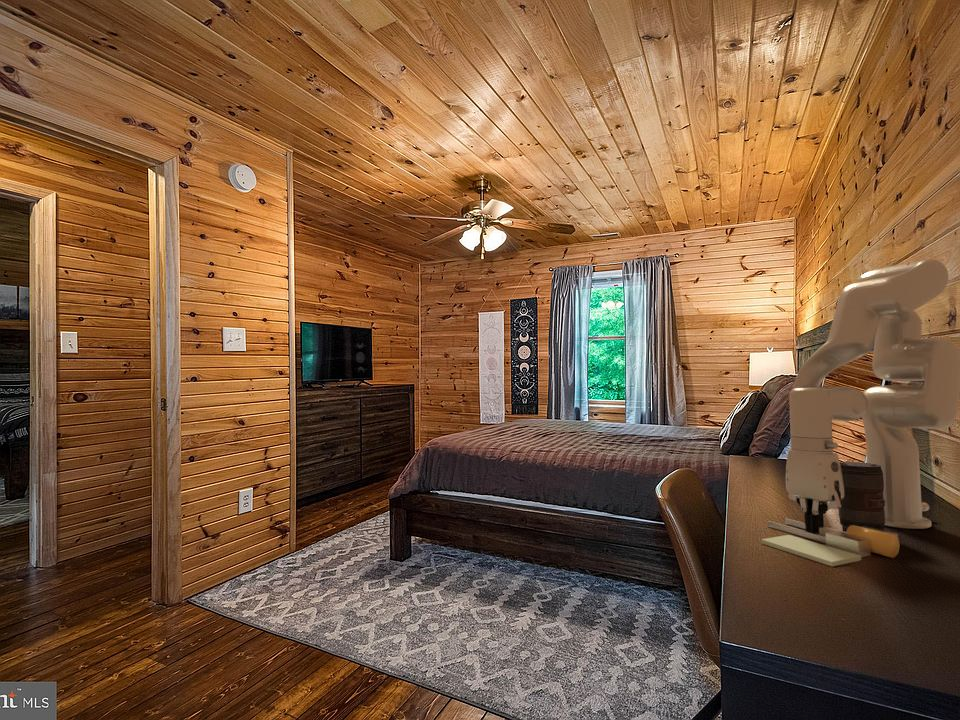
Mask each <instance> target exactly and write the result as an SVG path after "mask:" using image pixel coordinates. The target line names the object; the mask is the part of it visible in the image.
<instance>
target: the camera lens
mask: <svg viewBox="0 0 960 720" xmlns="http://www.w3.org/2000/svg"><path fill="white" fill-rule="evenodd" d="M840 465H841V469H842V475H843V483H844V499H843V500H840V504H841V508H838V517H839V523H840V525H841V528H842V529H841V530H842V531H843V532H846V531H847V529H848V527H849V526H851V525H856V526H868V527H872V528H876V529H880V530H884V531H885V525H884V524H885V511H884V506H885V500H884V499H883V491H884V478H883V472H882V469H881V465H878V464H872V463H867V462H859V461H857V462H856V461H855V462H854V461H840Z"/></svg>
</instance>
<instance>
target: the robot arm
mask: <svg viewBox="0 0 960 720" xmlns="http://www.w3.org/2000/svg"><path fill="white" fill-rule="evenodd" d="M949 277H950V276H949V272H948V268H947V267H946V266H945V265H944V263H943V262H941V261H940V260H936V259H933V258H929V259H928V258H927V259H921V260H916V261H910V262H905V263H901V264H895V265H890V266H889V265H888V266H885V267H880V268H876V269H872V270H869V271H867V272H865V273H862V274H861V276H859V278H858V279H857V282H854V283H851V284H848V285H847V286H846V287H844V288H843V289H842V290H841V292H840V293H839V297H838V301H837V304H836V306H835V311H834V315H833V318H832V323H831V326H830V329H829V333H828V338H827V340H826V342H824V344H822V345H821V346H820V347H819V348H818V349H817V350H815V351H814V352H813V353H812V354H811V355H810V356H809V358H807V360H806V361H805V362H804V363H803V364H802V365H801V367H800V368H799V369H798V372H797V374H796V377H795V379H794V384H793V388H792V389H791V390H790V391H789V393H788V395H789V396H788V399H789V425H790V426H789V427H790V428H789V429H790V430H789V431H790V432H789V433H790V449H788V452H787V457H786V465H785V489H786V491H787V494H788V495H787V497H788V499H790V500H791V501H794V502H796V503H797V504H798V505H799V507H800V510H801V511H802V512H803V513H804V523H805V527H806V529H805V531H808V532H812V533H815V534H819V528H821V527H825V523H824V514H826V513H827V512H828V511H830V510H839V508H841V504H840V500H843V499H844V483H843V475H842V469H841V465H840V462H841V461H840V459H839V456H838V453H836V452H834V449H836V450H837V449H838V448H839V444H838V442H835V441H834V438H833V423H832V422H833V421H835V422H836V421H837V422H839V421H840V422H853V421H857V420H859V419H861V420H862V424H863V427H864V435H865V450H866V451H865V452H866V463H872V464H878V465H881V469H882V472H883V478H884V491H883V499H884V500H885V506H884V511H885V524H884V527H885V526H886V527H887V526H888V527H891V528H900V529H911V530H912V529H913V530H916V529H917V530H924V529H928V528H931V527H932V521H931V520H930V519H929V518H927V517H924V516H923V512H926V511H929V509H930V505H929V504H928V503H927V502H925V501H924V502H923V501H922V489H921V470H920V467H921V466H920V451H919V445H918V443H917V441H916V439H915V437H914V436H913V435H912V433H911V432H910V431H909V430H908V429H907V428H912V429H925V430H942V429H943V430H944V429H947V428H949V427H951V426H952V425H953V424H954V423H955V421H956V420H957V415H958V412H959V403H960V402H959V401H960V350H959V347H958V346H957V345H956V344H955V343H954V342H953V341H951V340H949V339H945V338H938V337H937V338H936V337H935V338H922V330H923V329H922V328H923V322H922V319H921V317H920V316H919V314H918V313H917V312H916V311H915V310H917V309H919V308H921V307H923V306H924V305H926V304H927V303H929V302H930V301H932V300H934V299H935V298H937V297H938V296H940V295H941V294H942V293H943V292H944V291H945V289H946V287H947V286H948V283H949ZM872 350H873V353H872V362H871V363H872V364H871V365H872V366H871V367H872V372H873V374H874V376H875V377H877V378H878V379H880V380H884V381H890V382H891V381H892V382H893V381H894V382H924V383H923V384H924V385H890V384H887V385H877V386H871V387H869V388H866V390H864V391H861V390H859V389H858V388H855V387H853V386H852V387H851V386H832V385H831V386H830V385H829V386H826V385H825V386H824V385H822V383H823V381H824V380H825V378H826V377H828V375H829V374H831V373H832V372H834V371H835V370H836V369H839V368H841V366H844V365H846V364H849V363H850V362H851V363H852V362H853V361H856V360H857V359H860V358H862V357H864V356H866V355H868V354H869V353H870V352H871V351H872Z"/></svg>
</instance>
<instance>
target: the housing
mask: <svg viewBox="0 0 960 720" xmlns="http://www.w3.org/2000/svg"><path fill="white" fill-rule="evenodd" d="M767 527H769V528H771V529H775V530H777V531H778V530H779V531H783V532H786V533H789V534H791V535H794V536H795V535H796V536H800V537H802V538H805V539H806V538H807V539H810V540H813V541H817V542H820V543H823V544H825V545H826V546H829V547H832V548H836V549H839V550H843V551H846V552H849V553H853V554H856V555H860V556H861V558H864V557H865V558H866V557H869V556H871V555H872V552H871V546H870V539H868V538H864V537H860V536H856V535H852V534H849V533H845V532H841V531H842V530H839V531H832V532H826V536H822V535H819V533H812V532H808V531H806V527H805V522H802V521H800V520H794V519H792V518H788V517H787V518H786V517H785V518H784V524H782V523H778V522H776V521H775V522H774V521H771V520H767ZM860 527H864V528H868V529H872V530H876V531H881V532H885V533H889V534H893V535H896V536H897V538H898V539H899V533H897V532H892V531H888V530H885V529H884V530H880V529H876V528H872V527H868V526H860ZM799 528H800V529H799Z"/></svg>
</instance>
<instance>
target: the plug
mask: <svg viewBox="0 0 960 720" xmlns="http://www.w3.org/2000/svg"><path fill="white" fill-rule="evenodd" d="M832 531H841V532H843V530H839V529H835V528H831V527H827V526H824V527H821V528H819V533H818V534H819V535H822V536H826V532H832ZM845 533H849V534H852V535H856V536H860V537H864V538H868V539H870V546H871V553H872V554H878V555H879V556H883V557H884V556H885V557H888V558H892V559H894V558H895V557H896V556H898V554H899V551H900V547H901V546H900V540H899V537H898V538H897V536H896V535H893V534H889V533H885V532H881V531H876V530H872V529H868V528H864V527H860V526H856V525H851V526H849V527H848V529H847V531H846V532H845Z"/></svg>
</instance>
